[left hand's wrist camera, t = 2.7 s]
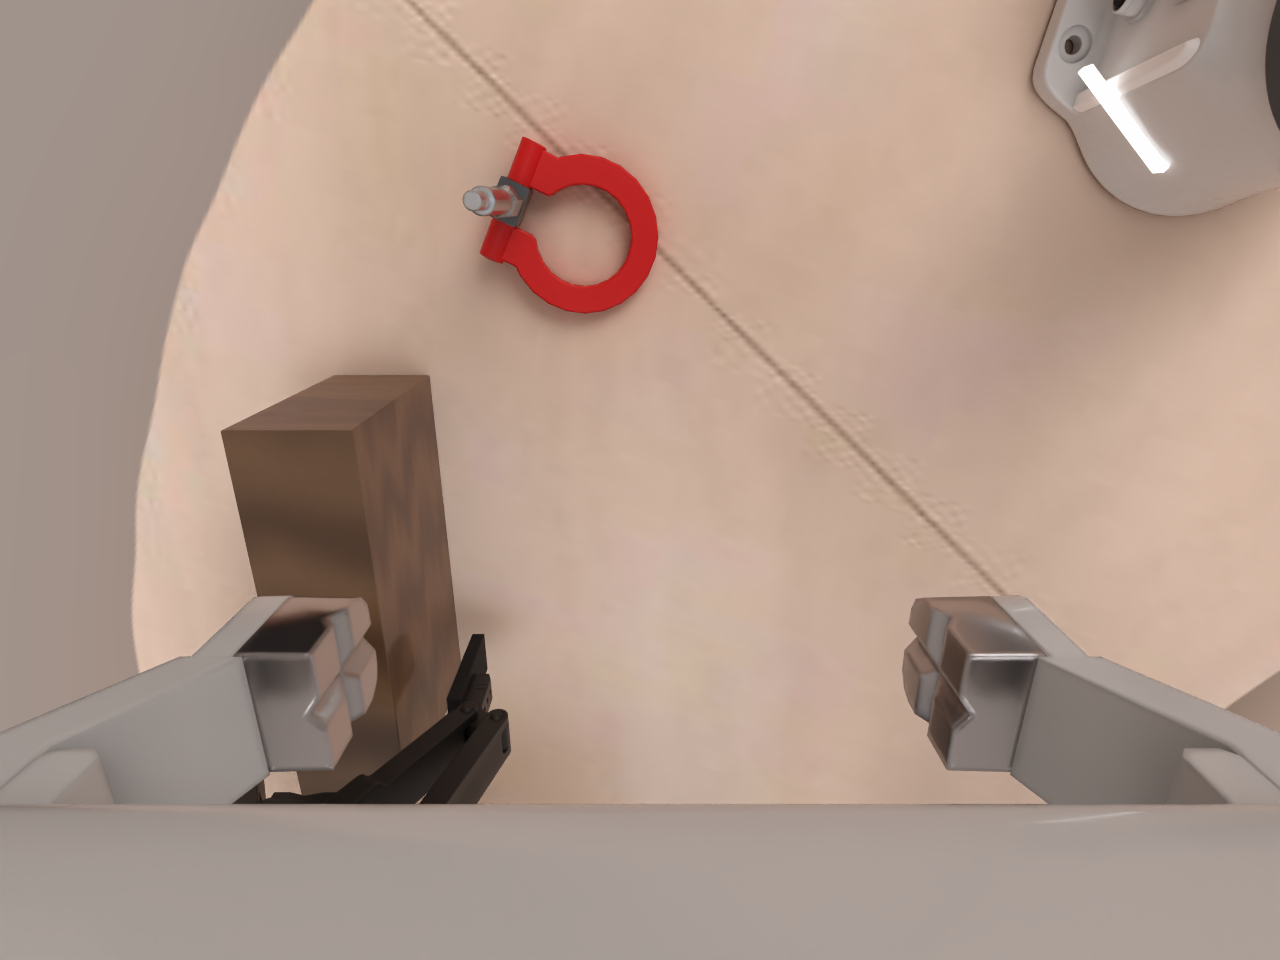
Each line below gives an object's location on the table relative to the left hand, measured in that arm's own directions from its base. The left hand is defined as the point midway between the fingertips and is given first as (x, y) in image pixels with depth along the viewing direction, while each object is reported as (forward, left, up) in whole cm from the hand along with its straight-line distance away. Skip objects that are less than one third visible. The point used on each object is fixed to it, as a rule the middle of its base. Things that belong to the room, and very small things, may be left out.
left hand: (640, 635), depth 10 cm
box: (+14, -16, -33) cm, 39 cm away
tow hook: (-5, -4, -33) cm, 34 cm away
